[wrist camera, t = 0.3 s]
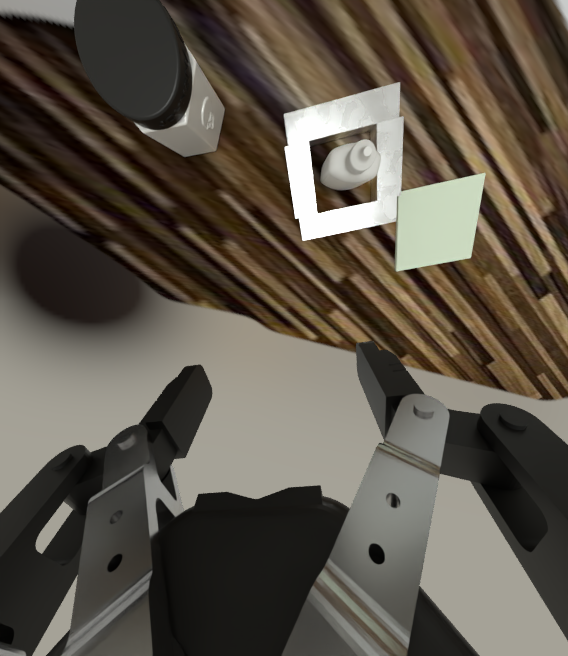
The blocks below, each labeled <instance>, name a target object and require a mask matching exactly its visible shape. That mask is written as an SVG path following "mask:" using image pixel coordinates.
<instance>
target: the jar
mask: <svg viewBox="0 0 568 656" xmlns="http://www.w3.org/2000/svg"><path fill="white" fill-rule="evenodd" d="M74 29H75V38H76V44H77V48H78V52H79V55H80V59H81V62H82V64H83V67H84V69H85V71H86V73H87V75H88V77H89V79H90V81H91V83H92V84H93V86H94V88H95V89H96V90H97V92H98V93H99V94H100V96H101V97H102V98H103V99H104V100H105V101H106V102H107V103H108V104H109V105H110V106H111V107H112V108H113V109H115V110H116V111H117V112H119V113H120V114H122V115H123V116H125V117H127V118H128V119H130V120H132V121H133V122H134V123H135V124H136V125H137V127H138V128H139V129H140V130H141V131H142V133H144V134H146V135H147V136H149V137H151V138H153V139H154V140H156V141H158V142H159V143H161V144H163V145H165V146H166V147H168V148H170V149H171V150H173V151H175V152H177V153H178V154H180V155H182V156H184V157H187V156H193V155H198V154H203V153H209V152H214V151H216V150H217V145H218V140H219V135H220V131H221V126H222V121H223V116H224V112H225V108H224V106H223V104H222V103H221V101H220V99H219V98H218V96H217V94H216V93H215V91H214V89H213V88H212V86H211V84H210V83H209V81H208V80H207V78H206V76H205V75H204V73H203V71H202V70H201V68H200V66H199V65H198V63H197V61H196V60H195V58H194V57H193V55H192V54H191V52H190V51H189V49H188V48H187V46H186V45H185V43H184V41H183V39H182V37H181V35H180V33H179V30H178V28H177V27H176V25H175V23H174V21H173V19H172V18H171V16H170V14H169V13H168V11H167V10H166V8H165V7H163V5H162V3H161V2H160V1H159V0H77V2H76V7H75V16H74Z"/></svg>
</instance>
